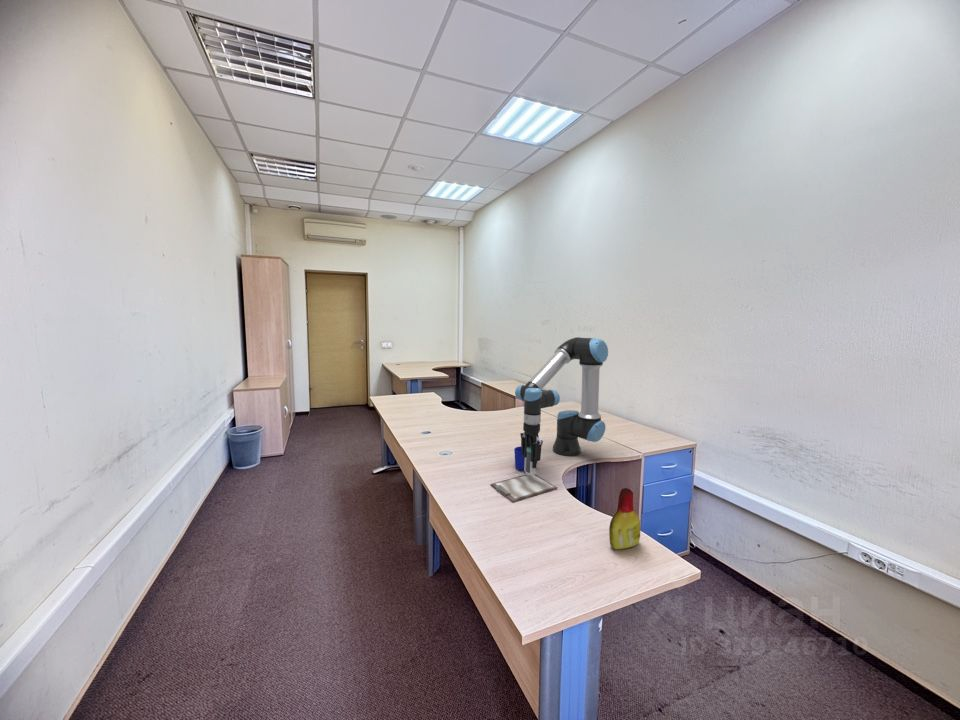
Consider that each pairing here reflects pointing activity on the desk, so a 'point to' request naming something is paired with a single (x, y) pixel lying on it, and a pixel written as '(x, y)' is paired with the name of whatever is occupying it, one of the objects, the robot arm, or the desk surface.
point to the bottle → (624, 523)
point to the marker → (528, 460)
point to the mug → (519, 459)
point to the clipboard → (523, 487)
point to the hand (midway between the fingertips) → (529, 472)
